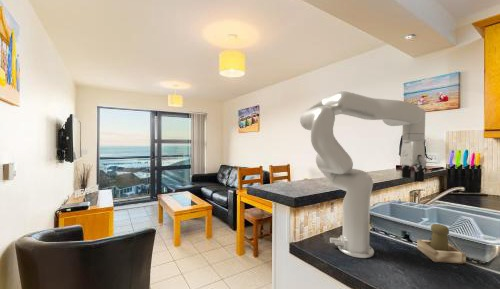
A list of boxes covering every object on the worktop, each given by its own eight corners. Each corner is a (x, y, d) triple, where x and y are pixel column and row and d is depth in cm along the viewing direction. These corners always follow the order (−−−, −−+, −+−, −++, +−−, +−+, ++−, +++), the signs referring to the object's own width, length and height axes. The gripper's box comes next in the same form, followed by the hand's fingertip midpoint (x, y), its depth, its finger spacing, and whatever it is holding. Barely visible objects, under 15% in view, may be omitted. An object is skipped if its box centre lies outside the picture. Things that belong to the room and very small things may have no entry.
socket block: (434, 261, 80) (434, 251, 80) (417, 248, 90) (417, 239, 90) (465, 263, 78) (465, 253, 78) (444, 249, 88) (444, 241, 88)
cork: (454, 259, 80) (454, 228, 80) (434, 257, 82) (435, 227, 81) (443, 251, 86) (444, 222, 86) (425, 249, 88) (426, 221, 87)
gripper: (393, 138, 102) (392, 176, 102) (414, 137, 85) (413, 182, 85) (412, 139, 101) (411, 176, 101) (436, 138, 84) (435, 183, 84)
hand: (412, 179), depth 93 cm, fingers open, 9 cm apart
